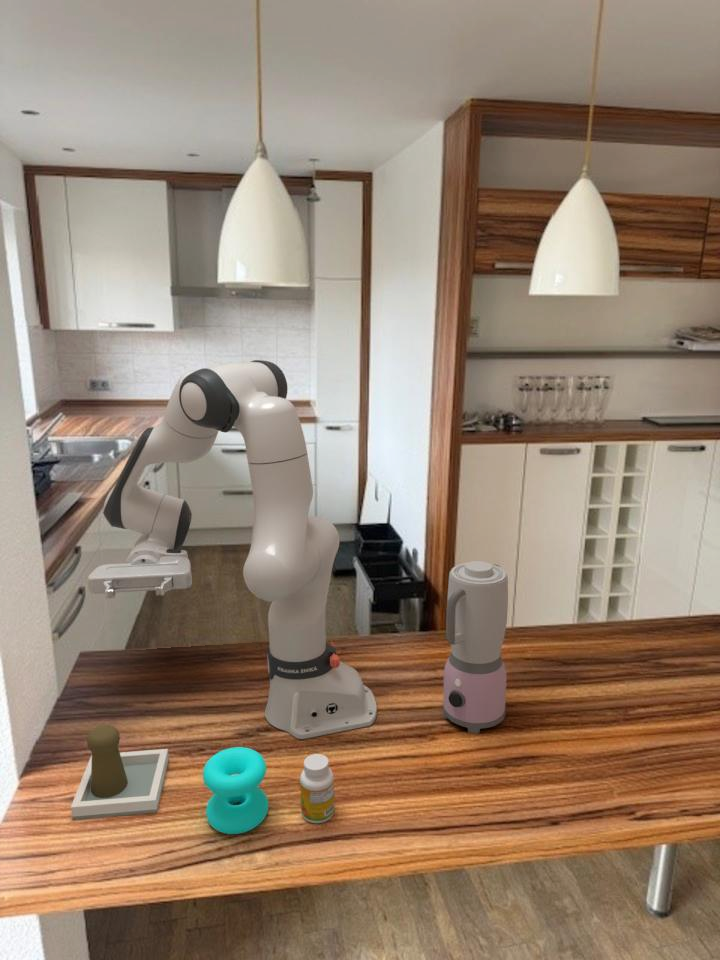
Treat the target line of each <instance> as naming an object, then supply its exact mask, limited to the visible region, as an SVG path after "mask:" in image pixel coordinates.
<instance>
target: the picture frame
mask: <svg viewBox="0 0 720 960" xmlns="http://www.w3.org/2000/svg"><path fill="white" fill-rule="evenodd" d="M120 756H121V759H122V763H123V766H124V770H125V773H126V777H127V780H128V784H127V787H126V788H125V789H124V790H123V791H122V792H121V793H119V794H118V795H115V796H113V797H109V798H98V797H95V796H94V795H93V794H92V793H91V768H92V754H91V755H90V757H89V760H88V763H87V765H86V768H85V770H84V773H83V775H82V778H81V781H80V783H79V785H78V788H77V790H76V793H75V795H74V798H73V801H72V804H71V805H70V811H71V820H73V821H74V820H84V819H85V820H86V819H97V818H99V819H100V818H107V817H108V818H110V817H119V816H120V817H121V816H131V815H143V814H144V815H145V814H154V813H158V810H159V804H160V800H161V796H162V793H163V792H162V791H163V787H164V784H165V779H166V775H167V771H168V765H169V761H170V756H169V749H168V748H162V749H161V748H160V749H149V750H136V751H123V752H120Z"/></svg>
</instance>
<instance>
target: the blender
mask: <svg viewBox="0 0 720 960" xmlns="http://www.w3.org/2000/svg"><path fill="white" fill-rule="evenodd" d="M448 573H449V575H448V586H447V587H448V588H447V599H446V600H447V603H446V609H445V610H446V613H445V614H446V616H445V617H446V618H445V619H446V620H445V621H446V622H445V624H446V625H445V636H446V638H445V639H446V642H447V643H448V644H449V645H450V655H449V656H448V658H447V660H446V662H445V666H444V669H443V703H442V705H443V706H442V710H443V711H442V712H443V713H442V714H443V717H444V719H445V720H449V721H450V722H452V723H454V724H456V725H457V726H458V725H459V726H461V727H463V728H467V733H469V734H477V735H478V734H480V730H481V729H488V728H492V727H495V726H497V725H499V724H500V723H502V721H504V719H505V717H506V695H507V670H506V667H505V664H504V661H503V659H502V647H503V645H504V639H505V635H506V628H507V623H508V610H509V609H508V607H509V606H508V605H509V585H508V583H509V579H508V578H509V577H508V573H507V572H506V571H505V569H503V568H502V567H501V566H500V564H495V563H494V564H491V563H489V562H486V561H482V560H472V561H468V562H464V563H460V564H457V565H455V566H454V567H452V568H451V569H450V571H449V572H448Z"/></svg>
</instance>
